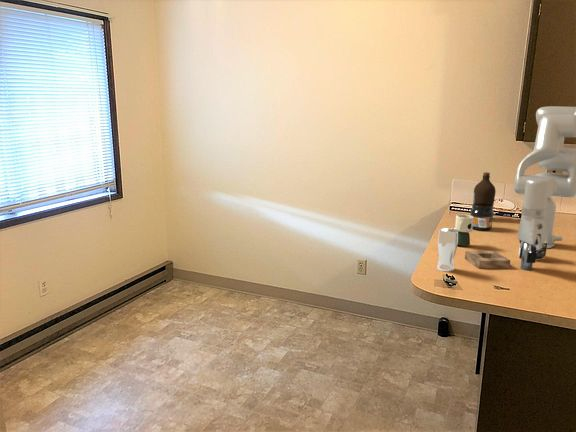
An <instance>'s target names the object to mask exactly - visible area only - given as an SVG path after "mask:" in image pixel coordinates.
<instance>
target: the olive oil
mask: <svg viewBox="0 0 576 432" xmlns="http://www.w3.org/2000/svg"><path fill="white" fill-rule="evenodd" d="M490 178H491V172H487V171H486V172H485V171H484V172H483V173H482V179H481V180H480V181H479V182H478V183H477V184H476V185H475V186H474V188H473V189H474V190H473V199H472V201H473V202H472V204H474V203H486V204H491V205H493V206H494V203H495V198H496V192H497V191H496V187H495V185H494V184H493V182H491V179H490ZM493 210H494V209H493ZM493 210H492V211H493ZM493 212H494V211H493Z"/></svg>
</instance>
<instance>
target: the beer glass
mask: <svg viewBox="0 0 576 432" xmlns="http://www.w3.org/2000/svg"><path fill="white" fill-rule="evenodd" d="M457 248H458V230H456V229H455V228H452V227H440V228H439V232H438V237H437V250H438V253H437V254H438V262H437V265H436V269H437V270H438V271H440V272H446V273H447V272H450V273H451V272H454V270H455V266H454V265H455V264H454V260H455V257H456V256H455V255H456V252H457Z"/></svg>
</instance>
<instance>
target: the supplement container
mask: <svg viewBox="0 0 576 432" xmlns="http://www.w3.org/2000/svg"><path fill="white" fill-rule="evenodd" d="M471 208H472V209H470V214H469V215H470V216H473V217H474V219H473V229H472V230H474V231H478V232H488V231H489V232H490V231H491V230H492V229H493V219H494V211H492V210H494V205H491V204H486V203H474V204H473V203H472V204H471Z"/></svg>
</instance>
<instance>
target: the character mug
mask: <svg viewBox="0 0 576 432" xmlns="http://www.w3.org/2000/svg"><path fill="white" fill-rule="evenodd" d="M470 215H471V214H456V215H455V225H454V229H456V230H458V245H459V246H460V247H469V246H470V245H471V242H470V241H471V238H470V237H471V235H470V233H471V232H472V231H473V230H474V229H473V219H474V217H473V216H470ZM458 245H457V246H458Z"/></svg>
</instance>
